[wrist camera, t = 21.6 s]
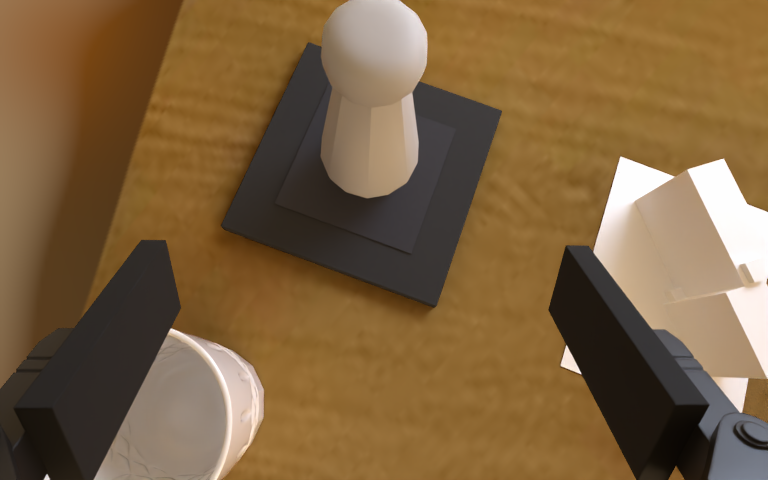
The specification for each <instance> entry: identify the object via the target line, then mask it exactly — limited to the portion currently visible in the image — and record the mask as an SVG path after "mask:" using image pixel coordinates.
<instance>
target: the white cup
mask: <svg viewBox="0 0 768 480" xmlns="http://www.w3.org/2000/svg"><path fill="white" fill-rule="evenodd" d="M263 417H264V389H263V387H262V385H261V382H260V380H259V378H258V376H257V374H256V372H255V370H254V367H253V366H252V365H251V364H250V363H248V362H247V361H246V360H244V359H243V358H242V357H241V356H239V355H238V354H237V353H235V352H234V351H233V350H230V349H227V348H225V347H223V346H221V345H219V344H216V343H214V342H211V341H209V340H206V339H204V338H200V337H197V336H194V335H190V334H187V333H184V332H180V331H177V330H174V329H170V331H169V332H168V334H167V336H166V338H165V340H164V342H163V344H162V346H161V348H160V350H159V352H158V354H157V356H156V358H155V360H154V362H153V364H152V366H151V368H150V370H149V372H148V374H147V376H146V378H145V380H144V382H143V384H142V386H141V388H140V390H139V392H138V394H137V396H136V397H135V399H134V401H133V403H132V405H131V407H130V409H129V411H128V413H127V415H126V417H125V419H124V421H123V423H122V425H121V427H120V429H119V431H118V433H117V435H116V437H115V439H114V441H113V443H112V445H111V447H110V449H109V451H108V453H107V455H106V457H105V459H104V461H103V462H102V464H101V466H100V468H99V470H98V472H97V474H96V476H95V478H94V480H223V479H224V478H225V476H226V475H227V474H228V473H229V472H230V470H231V469H232V468H233V467H234V465H235V464H236V463H237V462H238V461H239V459H240V458H241V457H242V455H243V454H244V452H245V451H246V449H247V448H248V447H249V446H250V445H251V444H252V442H253V439H254V437H255V435H256V433H257V431H258V429H259V426H260V424H261V422H262V420H263ZM44 480H50V478H49V477H48V475H46V477H45V478H44Z"/></svg>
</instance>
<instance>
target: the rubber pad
mask: <svg viewBox="0 0 768 480" xmlns="http://www.w3.org/2000/svg"><path fill="white" fill-rule="evenodd" d="M321 49H322V47H320V46H317V45H315V44H312V43H309V42H308V44H307V46H306V48H305V50H304V52H303V54H302V56H301V59H300V61H299V63H298V65H297V67H296V69H295V71H294V73H293V75H292V78H291V80H290V82H289V84H288V86H287V88H286V90H285V92H284V94H283V96H282V99H281V101H280V103H279V105H278V107H277V109H276V111H275V113H274V115H273V117H272V120H271V122H270V124H269V126H268V128H267V130H266V132H265V134H264V136H263V138H262V141H261V143H260V145H259V147H258V149H257V151H256V153H255V155H254V157H253V159H252V162H251V164H250V166H249V168H248V170H247V172H246V174H245V176H244V178H243V181H242V183H241V185H240V187H239V189H238V191H237V193H236V195H235V197H234V199H233V202H232V204H231V206H230V208H229V210H228V212H227V214H226V216H225V218H224V220H223V223H222V225H221V227H222V228H223V229H224V230H227V231H229V232H232V233H235V234H237V235H240V236H243V237H245V238H248V239H251V240H254V241H256V242H259V243H262V244H264V245H267V246H270V247H272V248H275V249H278V250H280V251H283V252H286V253H288V254H291V255H294V256H296V257H299V258H302V259H305V260H307V261H310V262H313V263H315V264H318V265H321V266H323V267H326V268H329V269H331V270H334V271H337V272H339V273H342V274H345V275H348V276H350V277H353V278H356V279H358V280H361V281H364V282H366V283H369V284H372V285H374V286H377V287H380V288H382V289H385V290H388V291H390V292H393V293H396V294H399V295H401V296H404V297H407V298H409V299H412V300H415V301H417V302H420V303H423V304H425V305H428V306H431V307H433V308H434V307H436V306H437V303H438V300H439V297H440V294H441V291H442V288H443V285H444V282H445V279H446V276H447V273H448V270H449V267H450V264H451V261H452V258H453V256H454V253H455V250H456V247H457V244H458V241H459V238H460V235H461V232H462V229H463V226H464V223H465V220H466V217H467V214H468V211H469V208H470V205H471V202H472V199H473V196H474V193H475V190H476V187H477V184H478V181H479V178H480V175H481V172H482V169H483V166H484V163H485V161H486V158H487V155H488V152H489V149H490V146H491V143H492V140H493V137H494V134H495V131H496V128H497V125H498V122H499V119H500V116H501V113H502V111H501V110H498V109H495V108H493V107H490V106H487V105H484V104H481V103H478V102H476V101H473V100H470V99H467V98H464V97H461V96H459V95H456V94H453V93H450V92H447V91H445V90H442V89H439V88H436V87H433V86H430V85H428V84H425V83H422V82H418V83H417V85H416V87H415V89H414V90H413V92H412V94H413V102H414V110H415V118H416V125H417V133H418V141H419V147H418V163H417V165H416V167H415V169H414V171H413V172H412V174H411V176H410V178H409V180H408V182H407V183H406V184H404V185H403V186H401V187H399V188H398V189H396V190H395V191H393V192H392V193H390V194H389V195H384V196H378V197H373V198H364V197H361V196H357V195H354V194H350V193H347V192H345V191H344V190H343V189H342V188H340V187H339V186H338V185H337V184H336V183H334V182H333V181H332V180H331V179H330V178H329V176H328V173H327V171H326V169H325V166H324V164H323V162H322V159H321V157H320V156H321V143H322V134H323V129H324V125H325V120H326V115H327V111H328V106H329V101H330V96H331V92H332V86H331V84H330V82H329V79H328V77H327V75H326V72H325V70H324V68H323V65H322V60H321Z"/></svg>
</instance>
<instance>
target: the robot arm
mask: <svg viewBox="0 0 768 480" xmlns="http://www.w3.org/2000/svg"><path fill="white" fill-rule="evenodd" d="M180 309H181V306H180V301H179V297H178V292H177V288H176V284H175V279H174V275H173V270H172V266H171V261H170V257H169V252H168V248H167V243H166V240H141V241H140V243H139V244H138V245H137V246H136V248H135V249H134V250H133V252H132V253H131V254H130V256H129V257H128V258H127V260H126V261H125V262H124V263H123V265H122V266H121V267H120V269H119V270H118V271H117V273H116V274H115V275H114V277H113V278H112V279H111V280H110V282H109V283H108V284H107V286H106V287H105V288H104V290H103V291H102V292H101V294H100V295H99V296H98V297H97V299H96V300H95V301H94V303H93V304H92V305H91V307H90V308H89V309H88V311H87V312H86V313H85V315H84V316H83V317H82V318H81V320H80V321H79V322H78V324H77V325H76V326H75V328H58V329H57V330H55V331H54V332H52V333H51V334H50V335H48V336H47V337H45V338H44V339H42V340H41V341H40V342H39V343H38V344H37V345H36V346H35V348H34V349H33V350H32V351H31V353H30V354H29V355H28V356H27V359H26V360H24V361H23V362H22V364H21V365H20V366H19V367H18V368H17V371H16V373H13V374H12V375H11V377H10V378H9V379H8V380H7V381H6V383H5V384H4V385H3V386H2V388H1V389H0V480H44V478H45V477H46V475H48V477H49V478H50V480H94V478H95V476H96V474H97V472H98V470H99V468H100V466H101V464H102V462H103V461H104V459H105V457H106V455H107V453H108V451H109V449H110V447H111V445H112V443H113V441H114V439H115V437H116V435H117V433H118V431H119V429H120V427H121V425H122V423H123V421H124V419H125V417H126V415H127V413H128V411H129V409H130V407H131V405H132V403H133V401H134V399H135V397H136V396H137V394H138V392H139V390H140V388H141V386H142V384H143V382H144V380H145V378H146V376H147V374H148V372H149V370H150V368H151V366H152V364H153V362H154V360H155V358H156V356H157V354H158V352H159V350H160V348H161V346H162V344H163V342H164V340H165V338H166V336H167V334H168V332H169V331H170V329H171V327H172V325H173V323H174V321H175V319H176V317H177V315H178V313H179V311H180ZM549 312H550V314H551V316H552V318H553V320H554V322H555V324H556V326H557V327H558V329H559V331H560V333H561V335H562V337H563V339H564V341H565V343H566V345H567V347H568V349H569V351H570V353H571V354H572V356H573V358H574V360H575V362H576V364H577V366H578V368H579V370H580V372H581V374H582V376H583V378H584V380H585V381H586V383H587V385H588V387H589V389H590V391H591V393H592V395H593V397H594V399H595V401H596V403H597V405H598V407H599V408H600V410H601V412H602V414H603V416H604V418H605V420H606V422H607V424H608V426H609V428H610V430H611V432H612V434H613V435H614V437H615V439H616V441H617V443H618V445H619V447H620V449H621V451H622V453H623V455H624V457H625V459H626V461H627V462H628V464H629V466H630V468H631V470H632V472H633V474H634V476H635V478H636V480H668V479H669V477H670V475H671V473H672V472H673V470H674V468H675V466H677V468H678V469H679V471H680V472H681V474H682V476H683V477H684V479H685V480H768V424H767V423H766V422H764V421H762V420H760V419H758V418H757V417H754V416H751V415H748V414H745V413H740V412H739V411H738V409H737V408H736V407H735V406H734V405H733V403H732V402H731V401H730V400H729V398H728V397H727V396H726V395H725V394H724V392H723V391H722V390H721V389H720V387H719V386H718V385H717V384H716V383H715V381H714V380H713V379H712V378H711V376H710V375H709V374H708V373H707V372H706V371H704V370H703V367H702V365H701V364H700V363H699V362H698V361H697V359H694V356H693V354H692V353H691V352H690V351H689V350H688V348H687V347H686V346H685V345H684V343H683V342H682V341H680V340H679V339H678V338H676V337H675V336H673V335H672V334H671V333H669V332H668V331H667V330H665V329H652V328H651V327H650V326H649V324H648V323H647V322H646V321H645V319H644V318H643V317H642V315H641V314H640V313H639V311H638V310H637V309H636V308H635V306H634V305H633V304H632V302H631V301H630V300H629V298H628V297H627V296H626V294H625V293H624V292H623V291H622V289H621V288H620V287H619V285H618V284H617V283H616V281H615V280H614V279H613V278H612V276H611V275H610V274H609V272H608V271H607V270H606V268H605V267H604V266H603V264H602V263H601V262H600V261H599V259H598V258H597V257H596V255H595V254H594V253H593V251H592V250H591V249H590V247H589V246H566V247H565V251H564V254H563V258H562V262H561V266H560V269H559V273H558V277H557V280H556V284H555V288H554V291H553V295H552V299H551V302H550V306H549Z"/></svg>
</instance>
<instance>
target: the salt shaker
mask: <svg viewBox="0 0 768 480" xmlns="http://www.w3.org/2000/svg"><path fill="white" fill-rule="evenodd" d="M321 60H322V65H323V68H324V70H325V72H326V75H327V77H328V79H329V82H330V84H331V86H332V92H331V96H330V101H329V106H328V111H327V115H326V120H325V125H324V129H323V134H322V143H321V156H320V157H321V159H322V162H323V164H324V166H325V169H326V171H327V173H328V176H329V178H330V179H331V180H332V181H333V182H334V183H336V184H337V185H338V186H339V187H340V188H342V189H343V190H344V191H345V192H347V193H350V194H354V195H357V196H361V197H364V198H373V197H378V196H384V195H389V194H390V193H392V192H393V191H395V190H396V189H398V188H399V187H401V186H403V185H404V184H406V183H407V182H408V180H409V178H410V176H411V174H412V172H413V171H414V169H415V167H416V165H417V163H418V147H419V141H418V133H417V125H416V118H415V110H414V102H413V94H412V92H413V90H414V89H415V87H416V85H417V83H418V82H419V80H420V78H421V76H422V75H423V73H424V70H425V67H426V64H427V32H426V30H425V28H424V27H423V25H422V23H421V21H420V19H419V17H418V15H417V14H416V13H415V12H413V11H412V10H411V9H410V8H408V7H407V6H406V5H405V4H403V3H402V2H401V1H399V0H350V1H348V2H346V3H344V4H343V5H341V6H339V7H338V8H336V9H335V11H334V12H333V13H332V15H331V16H330V18H329V19H328V21H327V22H326V24H325V25H324V29H323V35H322V49H321Z"/></svg>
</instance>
